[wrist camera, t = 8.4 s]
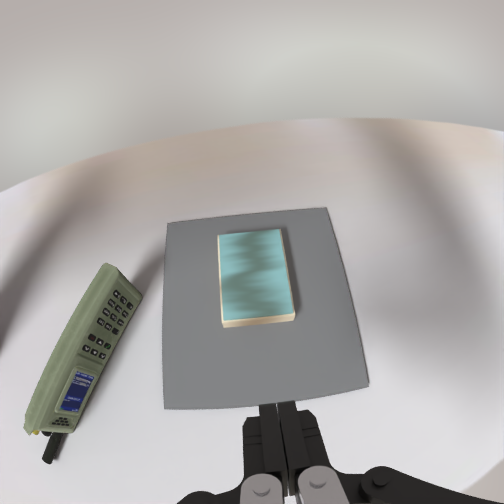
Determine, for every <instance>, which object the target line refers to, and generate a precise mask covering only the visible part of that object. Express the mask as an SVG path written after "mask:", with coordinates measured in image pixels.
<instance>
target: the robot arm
mask: <svg viewBox="0 0 504 504" xmlns="http://www.w3.org/2000/svg"><path fill="white" fill-rule="evenodd" d="M277 412H278V413H277ZM259 414H260V416H257V417H247V419H246V421H245V423H244V425H243V426H242V427H243V458H244V477H243V480H242V482H241V483H240V485H238V486H237V487H236V488H235V489H233V490H231V491H228V492H224V493H221V494H217V495H214V494H212V493H210V492H206V491H197V492H193V493H190V494H188V495H187V496H186V497H184V498H183V499H182V500H181V501H180V502H178V503H177V504H285V500H284V497H286V496H288V490H289V496H293V495H295V497H296V502H297V504H504V503H499V502H494V501H489V500H485V499H481V498H477V497H472V496H469V495H465V494H462V493H459V492H455V491H452V490H449V489H446V488H442V487H439V486H436V485H434V484H431V483H428V482H425V481H422V480H420V479H417V478H414V477H412V476H409V475H407V474H404V473H402V472H399V471H397V470H394V469H392V468H389V467H386V466H378V467H374V468H372V469H370V470H368V471H367V472H366V473H365V474H345V473H341V472H339V471H337V470H335V469H334V468H333V467H332V466H331V464H330V462H329V459H328V456H327V452H326V449H325V446H324V443H323V439H322V436H321V433H320V430H319V427H318V423H317V420H316V417H315V416H314V415H313V414H312V413H311V412H310V411H309V410H302V411H297V408H296V404H295V401H294V400H291V401H284V402H277V407H276V403H269V404H259Z"/></svg>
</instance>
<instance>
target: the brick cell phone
mask: <svg viewBox="0 0 504 504" xmlns="http://www.w3.org/2000/svg"><path fill="white" fill-rule="evenodd" d="M141 299H142V295H141V293H140V292H139V291H138V290H137V289H136V288H135V287H134V286H133V285H132V284H131V283H130V282H129V281H128V280H127V279H126V277H125V276H124V275H123V274H122V273H121V272H120V271H119V270H118V269H117V267H115V266H112V265H110V264H108V263H105V264H103V265H102V267H101V268H100V270H99V271H98V273H97V274H96V276H95V278H94V279H93V281H92V282H91V284H90V286H89V287H88V289H87V291H86V292H85V294H84V296H83V297H82V299H81V301H80V302H79V304H78V306H77V308H76V309H75V311H74V313H73V315H72V316H71V318H70V320H69V322H68V324H67V325H66V327H65V329H64V331H63V333H62V335H61V337H60V339H59V341H58V343H57V344H56V346H55V348H54V350H53V352H52V354H51V356H50V359H49V361H48V363H47V365H46V367H45V369H44V371H43V373H42V376H41V378H40V380H39V382H38V385H37V387H36V389H35V391H34V394H33V396H32V399H31V401H30V404H29V406H28V409H27V411H26V414H25V423H24V430H25V431H26V432H27V433H28V435H29V436H30V435H31V433H34V434H35V435H37V434H39V431H42V433H43V434H44V435H45V436H50V435H51V434H52V435H51V436H50V439H49V441H48V444H47V446H46V449H45V451H44V454H43V457H42V460H43V461H44V462H46V463H47V464H51V463H52V461H53V458H54V456H55V453H56V451H57V448H58V446H59V443H60V439H61V436H63V434H64V433H73V431H74V429H75V427H76V424H77V422H78V420H79V418H80V416H81V413H82V411H83V409H84V407H85V405H86V403H87V401H88V399H89V396H90V394H91V392H92V390H93V388H94V386H95V384H96V382H97V380H98V378H99V376H100V374H101V372H102V370H103V368H104V366H105V364H106V362H107V361H108V359H109V357H110V355H111V353H112V351H113V349H114V347H115V345H116V344H117V342H118V340H119V338H120V336H121V334H122V333H123V331H124V329H125V327H126V325H127V323H128V322H129V320H130V318H131V316H132V315H133V313H134V311H135V309H136V308H137V306H138V304H139V302H140V301H141ZM52 432H53V433H52Z"/></svg>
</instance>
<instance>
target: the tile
mask: <svg viewBox="0 0 504 504" xmlns="http://www.w3.org/2000/svg"><path fill="white" fill-rule="evenodd" d="M217 237H218V262H219V283H220V301H221V318H222V324H223V327H224V328H228V327H239V326H249V325H259V324H268V323H277V322H285V321H293V320H294V318H295V310H294V304H293V298H292V292H291V286H290V280H289V274H288V268H287V262H286V257H285V251H284V245H283V240H282V234H281V229H275V230H264V231H254V232H244V233H234V234H225V235H217Z"/></svg>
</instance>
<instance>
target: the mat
mask: <svg viewBox="0 0 504 504" xmlns="http://www.w3.org/2000/svg"><path fill="white" fill-rule="evenodd" d="M275 229H281V234H282V240H283V245H284V251H285V257H286V262H287V268H288V274H289V280H290V286H291V292H292V298H293V304H294V310H295V318H294V320H293V321H285V322H277V323H268V324H259V325H249V326H239V327H228V328H224V327H223V324H222V318H221V301H220V283H219V262H218V237H217V235H225V234H234V233H244V232H254V231H264V230H275ZM162 365H163V395H164V409H179V410H189V409H223V408H239V407H252V406H259V404H269V403H276V404H277V402H284V401H291V400H294V401H301V400H307V399H313V398H319V397H324V396H330V395H335V394H340V393H344V392H349V391H353V390H358V389H362V388H366V387H369V385H368V379H367V373H366V368H365V362H364V357H363V352H362V347H361V342H360V337H359V332H358V327H357V323H356V318H355V314H354V309H353V305H352V301H351V297H350V293H349V289H348V285H347V281H346V277H345V273H344V269H343V265H342V262H341V258H340V254H339V251H338V247H337V243H336V240H335V237H334V233H333V230H332V226H331V223H330V220H329V216H328V213H327V210H326V208H314V209H301V210H289V211H278V212H267V213H256V214H246V215H236V216H226V217H217V218H208V219H199V220H191V221H182V222H174V223H168V224H167V235H166V249H165V264H164V284H163V315H162Z"/></svg>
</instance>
